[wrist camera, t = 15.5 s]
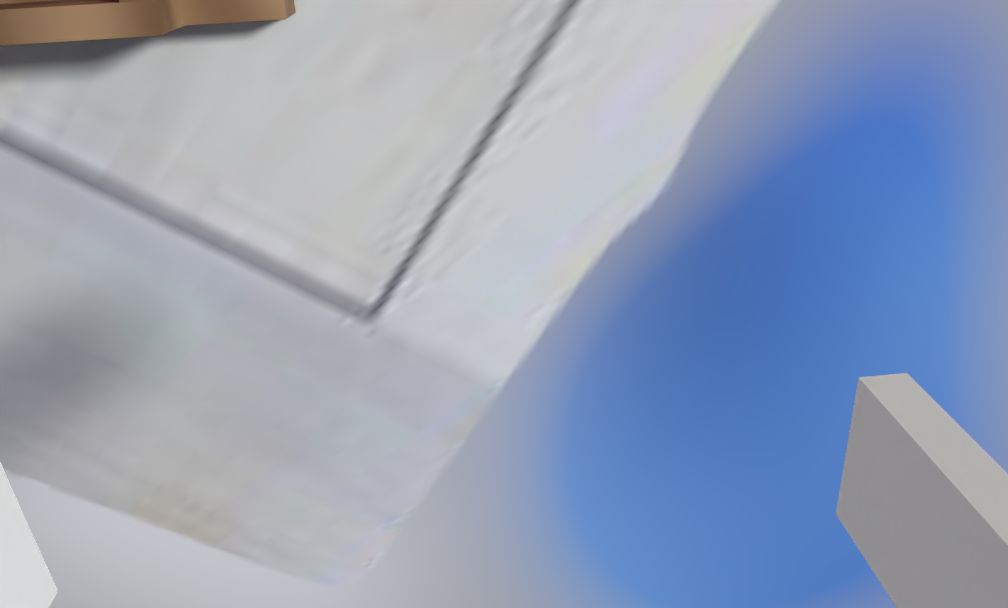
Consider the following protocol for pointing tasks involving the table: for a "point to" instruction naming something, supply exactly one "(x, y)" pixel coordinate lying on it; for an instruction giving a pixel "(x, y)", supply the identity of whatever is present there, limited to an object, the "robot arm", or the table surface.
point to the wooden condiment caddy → (123, 17)
